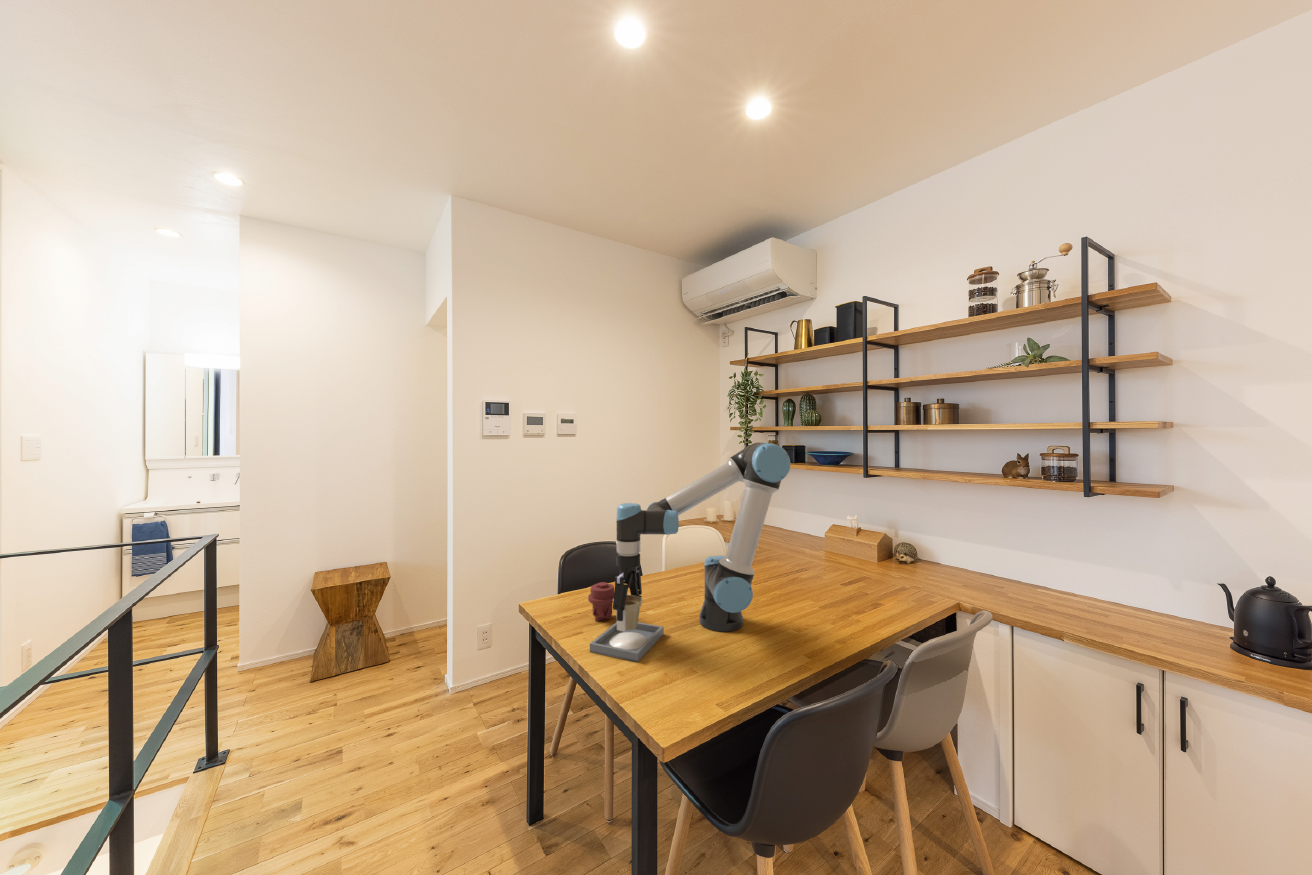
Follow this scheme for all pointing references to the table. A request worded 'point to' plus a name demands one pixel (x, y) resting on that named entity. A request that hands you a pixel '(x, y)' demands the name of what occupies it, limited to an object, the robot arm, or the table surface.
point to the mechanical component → (602, 600)
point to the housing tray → (627, 641)
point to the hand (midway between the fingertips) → (627, 624)
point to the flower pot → (632, 611)
